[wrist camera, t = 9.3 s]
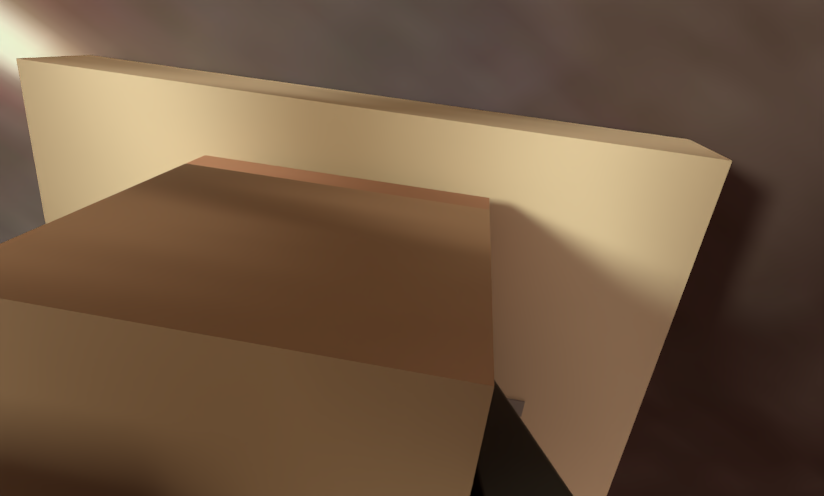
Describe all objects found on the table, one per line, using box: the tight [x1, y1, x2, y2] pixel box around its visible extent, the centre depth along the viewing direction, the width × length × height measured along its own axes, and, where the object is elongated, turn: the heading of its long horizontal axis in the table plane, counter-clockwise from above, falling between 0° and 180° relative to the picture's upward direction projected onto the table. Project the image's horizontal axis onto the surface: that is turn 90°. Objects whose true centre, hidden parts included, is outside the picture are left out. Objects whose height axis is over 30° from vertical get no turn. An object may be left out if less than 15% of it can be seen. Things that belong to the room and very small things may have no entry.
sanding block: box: [0, 155, 494, 496], centre depth 6 cm, size 4×6×4 cm, turn 173°
